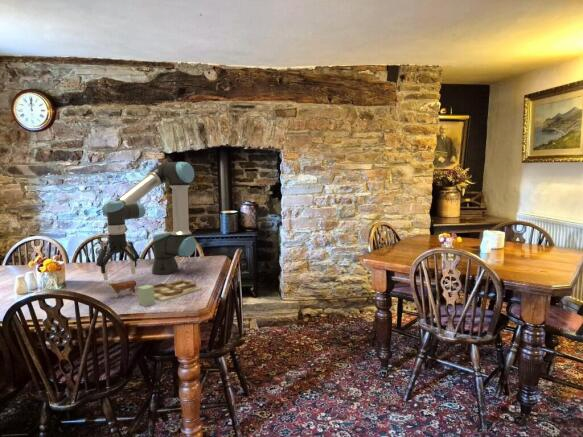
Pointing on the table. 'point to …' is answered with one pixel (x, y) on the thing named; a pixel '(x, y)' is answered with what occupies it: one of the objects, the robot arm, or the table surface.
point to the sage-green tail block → (146, 295)
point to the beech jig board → (174, 289)
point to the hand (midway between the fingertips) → (120, 276)
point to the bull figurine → (122, 287)
